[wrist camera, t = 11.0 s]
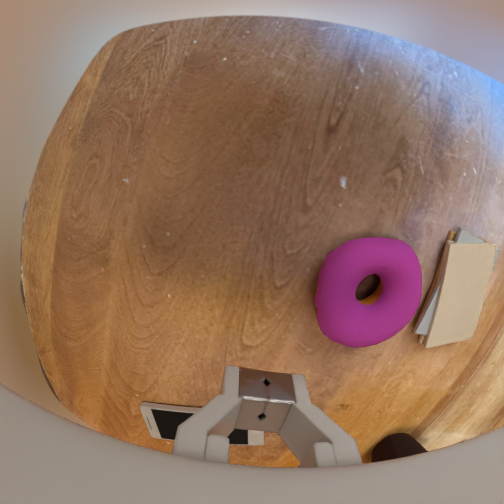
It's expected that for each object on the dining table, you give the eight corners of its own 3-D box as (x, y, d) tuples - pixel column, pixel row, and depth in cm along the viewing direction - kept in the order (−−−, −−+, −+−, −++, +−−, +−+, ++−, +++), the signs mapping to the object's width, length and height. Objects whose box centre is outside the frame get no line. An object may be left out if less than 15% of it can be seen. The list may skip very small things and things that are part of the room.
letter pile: (444, 221, 24) (455, 226, 22) (497, 242, 25) (507, 247, 23) (401, 338, 28) (409, 348, 26) (458, 341, 28) (466, 349, 26)
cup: (385, 424, 32) (411, 486, 21) (441, 422, 34) (468, 469, 22) (351, 460, 35) (366, 516, 24) (408, 456, 37) (428, 502, 25)
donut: (415, 234, 24) (441, 247, 20) (395, 326, 27) (414, 350, 23) (314, 229, 24) (328, 243, 20) (304, 331, 27) (312, 359, 23)
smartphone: (263, 440, 32) (263, 446, 31) (152, 433, 32) (151, 438, 31) (264, 408, 30) (265, 414, 29) (140, 400, 30) (138, 405, 29)
